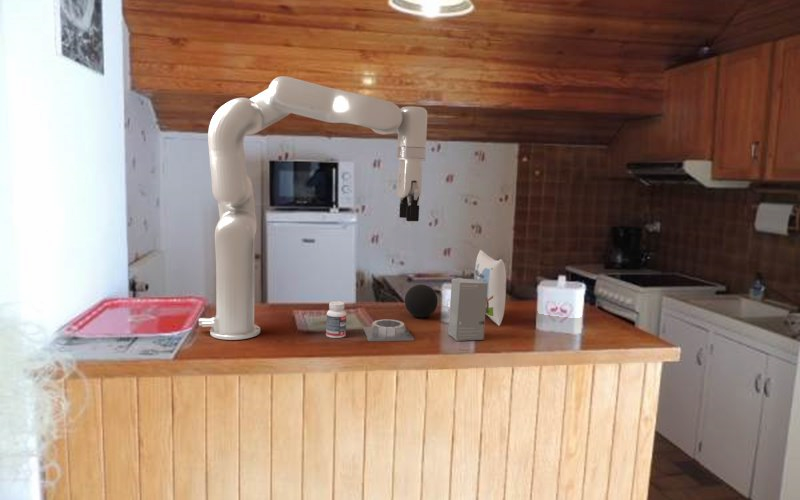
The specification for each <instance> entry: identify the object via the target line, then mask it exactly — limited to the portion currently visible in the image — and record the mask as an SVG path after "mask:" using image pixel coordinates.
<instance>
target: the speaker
mask: <svg viewBox="0 0 800 500" xmlns="http://www.w3.org/2000/svg"><path fill="white" fill-rule="evenodd" d="M438 302H439V299H438V296H437V293H436V291H435V290H434V289H433V288H432V287H431V286H429V285H426V284H416V285H413V286H412V287H410V288H409V289H408V291H407V292H406V294H405V297H404V306H405V308H406V311H408V313H409V314H410V315H411V316H412V317H416V318H427V317H430V316H431V315H432V314H434V313H435V310H436V309H437V307H438Z"/></svg>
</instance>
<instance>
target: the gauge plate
mask: <svg viewBox="0 0 800 500" xmlns="http://www.w3.org/2000/svg"><path fill="white" fill-rule="evenodd" d="M405 325H406V324H405V323H404V322H403V321H401V320H398V319H387V318H385V319H377V320H374V321H372V323H371V326H363V328H362V329H363V331H364V334H365V337H366V338H367V341H368V342H398V341H399V342H404V341H405V342H406V341H407V342H410V341H411V342H412V341H413V342H414V341H415V338H414V336H413V335H412V333H411V332H410V331H409V329H408V328H407V326H405Z"/></svg>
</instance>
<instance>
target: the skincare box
mask: <svg viewBox="0 0 800 500" xmlns="http://www.w3.org/2000/svg"><path fill="white" fill-rule="evenodd" d="M487 284H488V283H486V282H484V281H481V280H479V279H474V278H452V279H451V286H450V287H451V288H450V302H449V303H450V304H449V305H450V306H449V316H448V317H449V318H448V329H447V331H448V332H447V333H448V335H449V336H450V337H452V338H453V339H454V340H455V341H456V342H460V341H461V342H463V341H480V340H481V341H484V339H485V337H484V336H485V325H486V314H485V312H486V299H487Z"/></svg>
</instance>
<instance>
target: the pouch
mask: <svg viewBox="0 0 800 500" xmlns="http://www.w3.org/2000/svg"><path fill="white" fill-rule="evenodd" d="M473 274H474V276H473V279H479V280H481V281H484V282H486V283H488V284H487V299H486V312H485V316H488V317H489V318H490V319H491V320H492V321H493V322H494V323H495V324H496V325H498V327H500V326H501V324H502V321H503V318H504V315H505V307H506V298H507V295H506V294H507V271H506V264H505V262H504V260H503V259H501V258H500V259H499V260H496V259H494V258H493V257H491V256H489V255H488V254H487V253H486V252H485V251H483V250H482V249H479V252H478V254H477V256H476V261H475V266H474V273H473Z"/></svg>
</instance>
